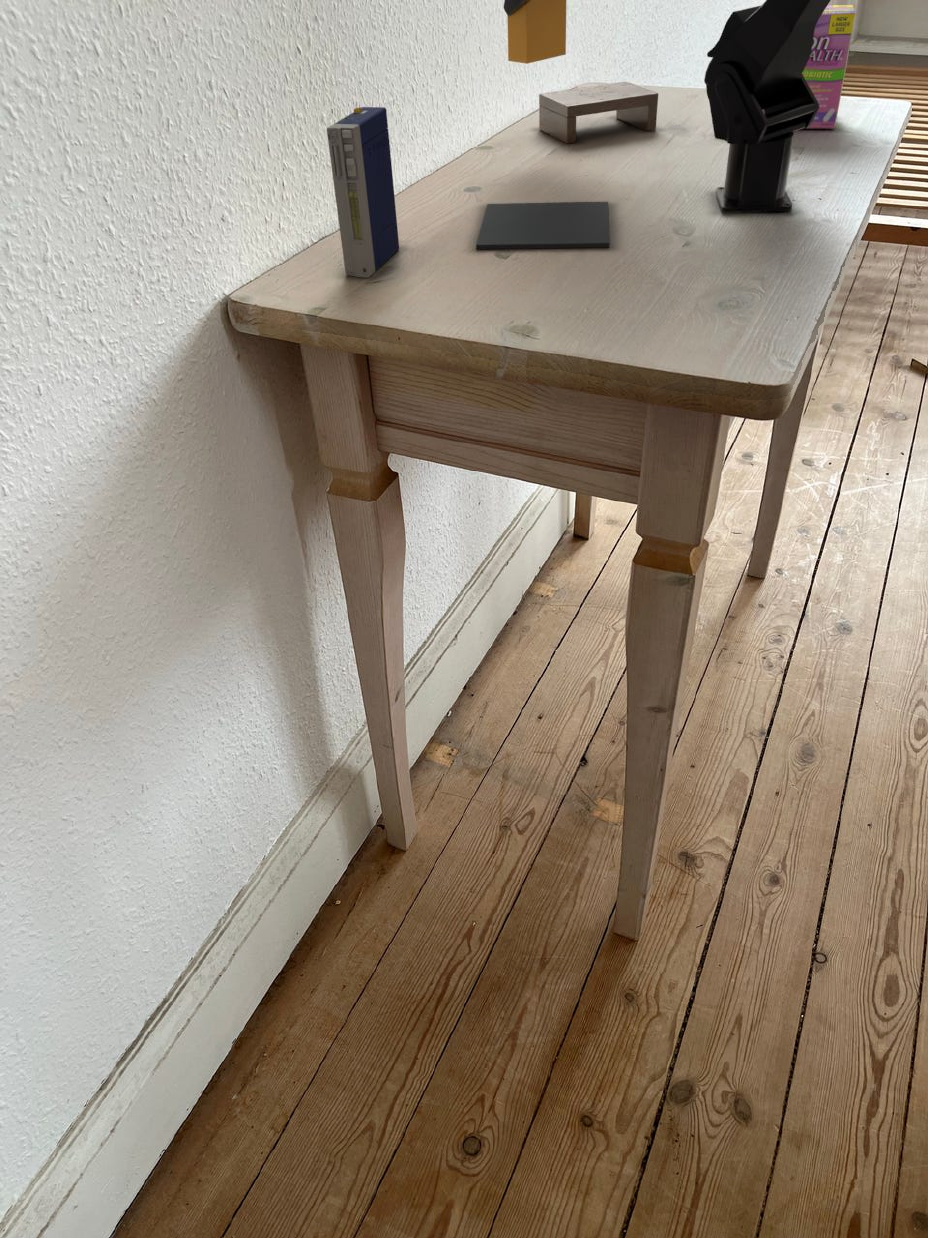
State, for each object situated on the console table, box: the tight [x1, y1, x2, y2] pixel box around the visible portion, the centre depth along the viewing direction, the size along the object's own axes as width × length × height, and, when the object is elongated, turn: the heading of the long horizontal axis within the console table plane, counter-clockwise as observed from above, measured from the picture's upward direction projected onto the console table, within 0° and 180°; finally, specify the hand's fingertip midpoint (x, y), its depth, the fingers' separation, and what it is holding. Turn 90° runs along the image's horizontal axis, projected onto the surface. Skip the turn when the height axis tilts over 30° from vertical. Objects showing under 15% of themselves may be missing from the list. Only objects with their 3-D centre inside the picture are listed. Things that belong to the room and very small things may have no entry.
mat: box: [475, 201, 610, 250], centre depth 89 cm, size 12×12×1 cm
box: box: [762, 4, 856, 130], centre depth 109 cm, size 10×6×12 cm, turn 76°
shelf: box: [538, 81, 659, 144], centre depth 114 cm, size 8×12×4 cm, turn 111°
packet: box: [506, 0, 567, 65], centre depth 100 cm, size 3×6×10 cm, turn 131°
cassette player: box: [326, 106, 400, 279], centre depth 80 cm, size 7×2×12 cm, turn 162°
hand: (528, 7), depth 101 cm, fingers closed on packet, 6 cm apart
